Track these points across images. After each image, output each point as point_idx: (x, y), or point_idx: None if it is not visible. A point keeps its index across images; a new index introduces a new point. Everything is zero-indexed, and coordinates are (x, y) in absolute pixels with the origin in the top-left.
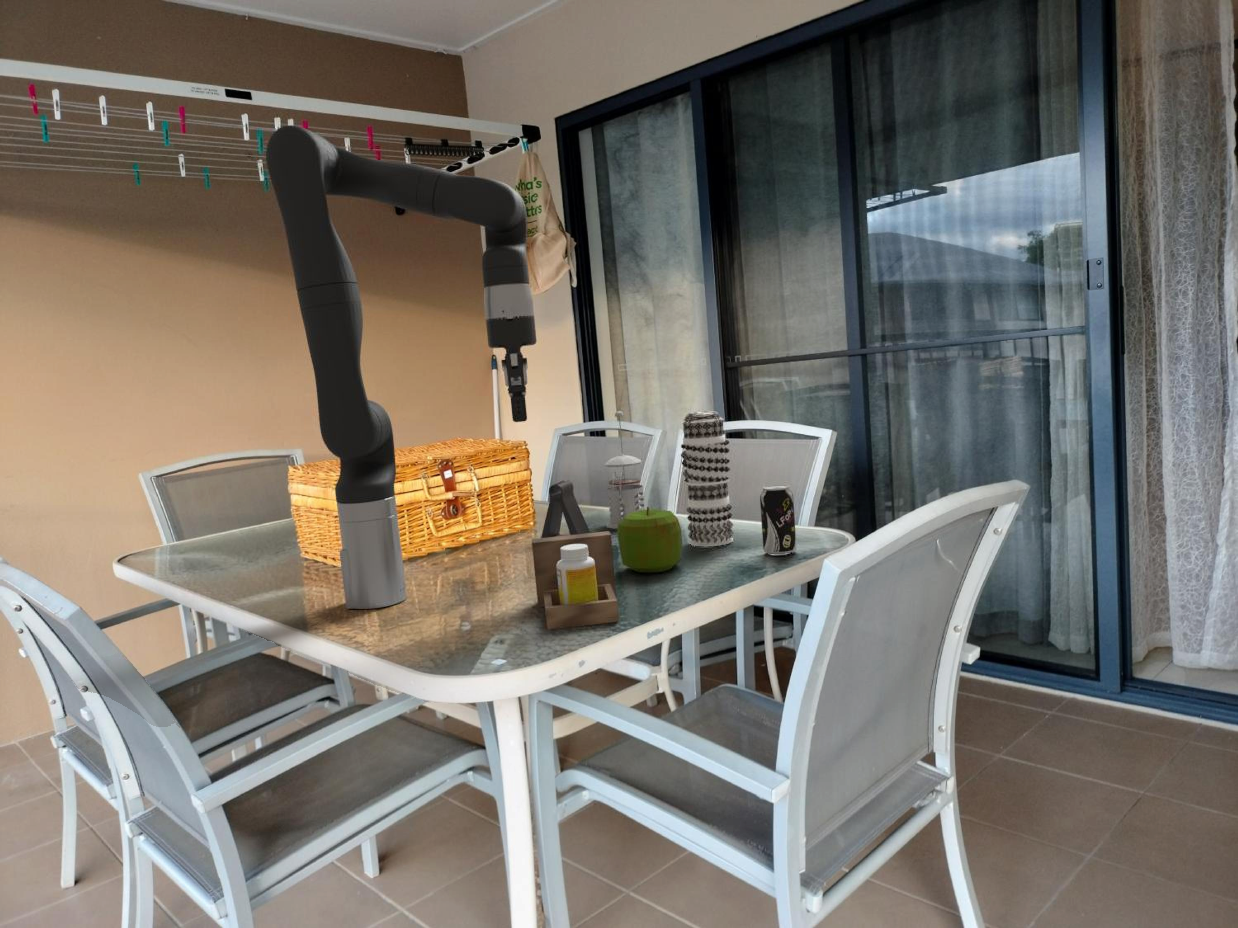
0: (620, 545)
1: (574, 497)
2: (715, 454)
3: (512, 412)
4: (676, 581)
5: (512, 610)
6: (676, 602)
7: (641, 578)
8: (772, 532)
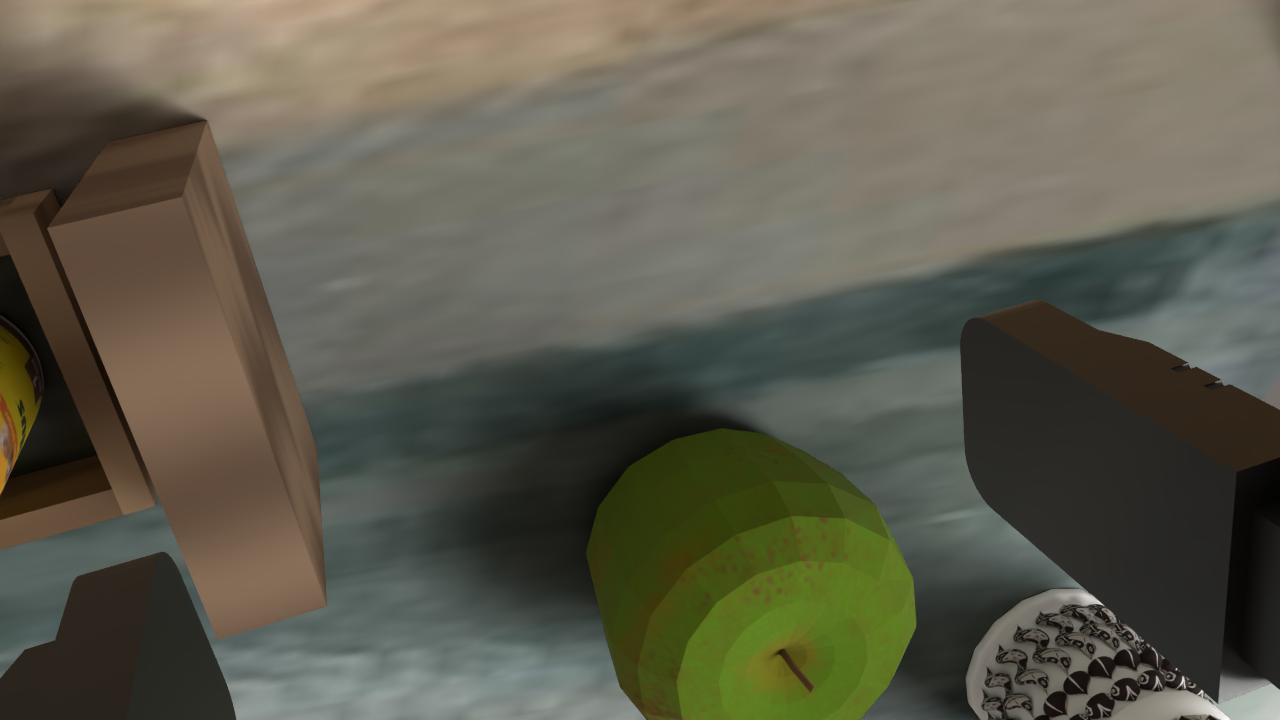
0: (688, 481)
1: None
2: None
3: (53, 669)
4: (475, 644)
5: (63, 11)
6: None
7: (556, 508)
8: None
